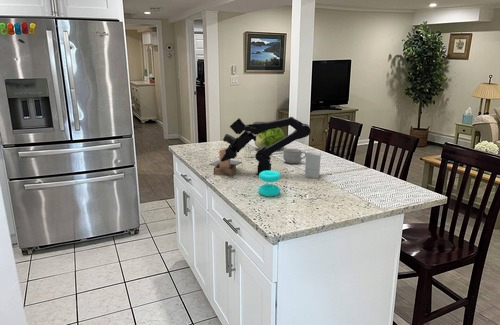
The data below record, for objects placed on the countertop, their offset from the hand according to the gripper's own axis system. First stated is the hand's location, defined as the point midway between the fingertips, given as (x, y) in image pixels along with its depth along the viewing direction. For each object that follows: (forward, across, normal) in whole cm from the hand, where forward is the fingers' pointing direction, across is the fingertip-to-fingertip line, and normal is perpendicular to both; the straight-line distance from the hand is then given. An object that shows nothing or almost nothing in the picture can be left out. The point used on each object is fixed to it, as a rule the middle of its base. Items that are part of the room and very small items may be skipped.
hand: (222, 159), depth 202 cm
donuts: (-14, +29, +25) cm, 41 cm away
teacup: (-22, -26, +33) cm, 47 cm away
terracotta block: (+4, 0, +6) cm, 7 cm away
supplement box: (-29, -2, +39) cm, 49 cm away
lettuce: (-10, -58, +20) cm, 62 cm away
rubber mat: (+6, -17, +4) cm, 19 cm away
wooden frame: (+4, 0, +6) cm, 7 cm away
